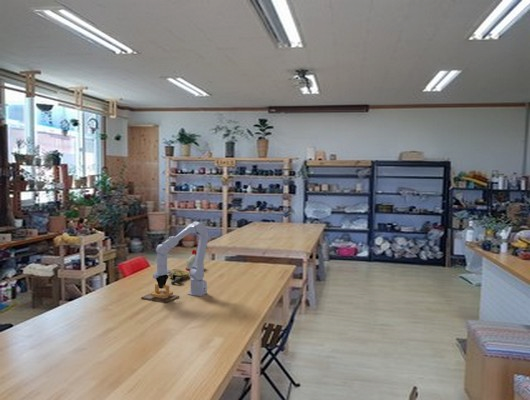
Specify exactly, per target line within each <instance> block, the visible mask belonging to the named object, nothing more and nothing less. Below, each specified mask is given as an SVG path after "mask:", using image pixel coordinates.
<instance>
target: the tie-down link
mask: <svg viewBox="0 0 530 400" xmlns="http://www.w3.org/2000/svg"><path fill="white" fill-rule="evenodd" d="M164 289H165V290H164ZM153 292H154V293H153ZM153 292H151V293H150V294H151V296H153V297H159V298H166V297H168V296H170V295H174V291H170V285H166V284H165V285H163V289H160V288H159V286H158V283H156V284H154V291H153ZM161 292H163V294H164V295H162V294H160V293H161Z"/></svg>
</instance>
